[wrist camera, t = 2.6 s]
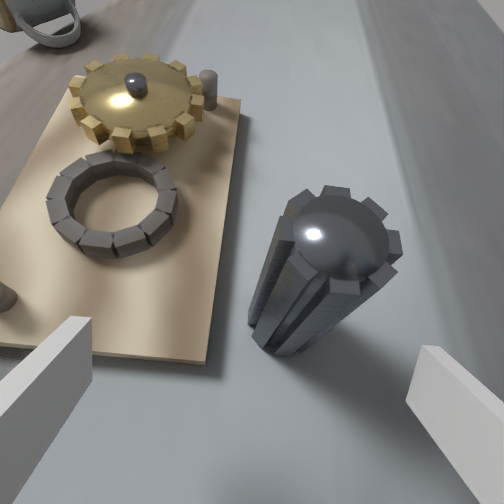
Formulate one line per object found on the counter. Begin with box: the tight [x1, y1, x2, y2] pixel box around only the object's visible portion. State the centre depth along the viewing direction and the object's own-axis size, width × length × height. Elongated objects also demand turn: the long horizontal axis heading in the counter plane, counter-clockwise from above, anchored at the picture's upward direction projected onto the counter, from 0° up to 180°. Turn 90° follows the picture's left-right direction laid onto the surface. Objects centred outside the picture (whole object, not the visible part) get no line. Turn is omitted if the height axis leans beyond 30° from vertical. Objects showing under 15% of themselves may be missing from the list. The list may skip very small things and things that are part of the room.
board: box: [0, 70, 241, 365], centre depth 24 cm, size 16×25×4 cm, turn 176°
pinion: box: [248, 185, 403, 357], centre depth 18 cm, size 5×5×12 cm
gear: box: [67, 53, 204, 154], centre depth 26 cm, size 10×10×5 cm
